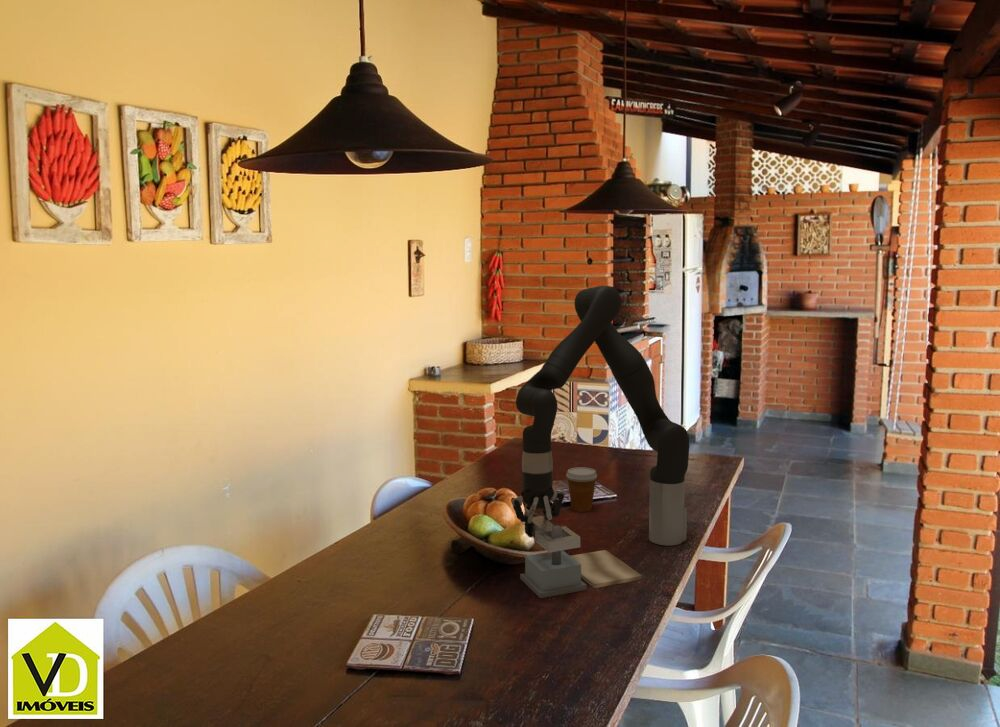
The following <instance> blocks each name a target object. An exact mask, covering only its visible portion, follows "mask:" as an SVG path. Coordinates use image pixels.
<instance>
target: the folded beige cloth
mask: <svg viewBox="0 0 1000 727" xmlns="http://www.w3.org/2000/svg"><path fill="white" fill-rule="evenodd" d="M570 556H571V557H572V558H573V559H575V560H576V561H577V562H578V563H580V564H581V580H584V581H585V582H586V584H588V585H590V586H591V588H593V589H598V588H604V587H609V586H615V585H619V584H620V585H621V584H624V583H631V582H636V581H640V580H643V579H642V578H643V575H642V574H640V573H639V572H637V571H636V570H634V569H633V568H632V567H630V566H629V565H627V564H626V563H625V562H623V561H622V560H621V559H619V558H618V557H617V556H615V555H613V554H612V553H611V552H609V551H608V550H607V549H604V550H603V549H602V550H596V551H591V552H585V553H579V554H573V555H570Z"/></svg>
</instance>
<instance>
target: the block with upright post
mask: <svg viewBox="0 0 1000 727" xmlns="http://www.w3.org/2000/svg"><path fill="white" fill-rule="evenodd" d="M561 527H562V525H557V524H554V526H552V539H556V538H561ZM571 556H572V555H570V554H568V553H567V552H565V550H562V551H556V552H550V553H549V552H548V551H547V552H542V553H536V554H530V555H529V554H528V555H525V557H524V559H525V560H524V563H525V565H524V566H525V568H524V569H525V570H524V573H520V574H519V579H520V581H522V583H524V584H525V585H526V586H527V587H528V588H529V589H530V590H531V591H532V592H533V593H534V594H535V595H536V596H537V597H538V598H539V599H545V598H550V597H556V596H561V595H566V594H571V593H577V592H582V591H587V590H588V587H587V583H585V582H584V581H582V578H581V564H580V563H578V562H577V561H576V560H575V559H573V558H572V557H571Z"/></svg>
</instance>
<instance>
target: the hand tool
mask: <svg viewBox="0 0 1000 727" xmlns="http://www.w3.org/2000/svg"><path fill="white" fill-rule="evenodd" d="M450 546H451V548H450V549H451V551H452V553H454V554H458V555H462V554H463V553H465V552H466V550H469V549H470V548H472V547H471V546H470V545H469V544H468V543H467V542H466V541H465V540H464V539H463V538H462V537H460V538H458V539H452V540H451V544H450Z"/></svg>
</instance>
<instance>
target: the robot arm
mask: <svg viewBox="0 0 1000 727" xmlns="http://www.w3.org/2000/svg"><path fill="white" fill-rule="evenodd" d="M574 309H575V313H576V315H577V317H578V319H579V322H580V323H578V325H577V326H576V327H575V328H574V329H573V330H572V331H571V332H570V333H569V334H568V335H567V336H565V338H563V340H561V341H560V342H559V343H558V344H557V345H556V346H555V348H553V350H552V351H551V352H550V354H549V356H548V357H547V359H546V360H545V362H544V363H543V365H542V366H541V368H540V369H539V371H537V372H536V373H535V374H533V376H532V377H530V378H529V379H528V381H526V382H525V384H524V383H523V385H522V386H521V388H520V389H519V390H518V392H517V395H516V399H515V407H516V409H517V411H518V413H521V414H522V415H525V416H530V417H533V423H532V425H527V426H525V427H524V428H523V431H522V456H521V481H522V483H521V486H522V491H521V494H520V495H519V496H517V497H511V499H510V502H511V505H512V507H513V510H514V513H515V516H516V518H517V520H519V521H520V522H522V523H524V533H525V535H526V536H528V538H533V536H534V534H533V533H534V532H533V525H532V519H533V517H534V515H536V513H535V512H536V510H538V509H541V511H542V514H543V515H542V516H543V517H544V518H546V519H547V520H548V521H550V522H551V523H552V520H553V518H555V517H558V516H559V515H560V512H561V509H562V505H563V502H564V498H565V494H564V493H562V492H560V491H559V490H557V491H556V490H554V488H553V484H554V482H553V480H554V479H553V478H554V477H553V475H554V474H553V473H554V472H553V469H554V468H553V467H554V464H553V456H552V455H553V454H552V433H553V432H552V431H553V429H554V425H555V420H556V416H557V412H558V400H557V397H556V395H555V393H553V390H558V389H561V388H563V387H564V386H565V385H566V383H567V381H568V380H569V379H570V377H571V375H572V374H573V372H574V371H575V369H576V367H577V366H578V365H579V363H580V361H581V359H583V357H584V355H585V354H586V353H587V351H588V350H589V349H590V348H591V347H592V345H593V344H594V343H595V344H596V346H597V348H598V350H599V352H600V353H601V356H602V357H603V359H604V360H605V362H606V364H607V366H608V368H609V369H610V372H611V374H612V375H613V378H614V379H615V382H616V383H617V385H618V387H619V388H620V390H621V391H622V394H623V395H624V397H625V399H626V400H627V403H628V404H629V406H630V408H631V409H632V411H633V413H634V414H635V416H636V419H637V421H638V423H639V426H640V428H641V431H642V434H643V436H644V438H645V441H646V443H647V445H648V446H649V447H650V448H651V449H652V450H653V451H654V452H656V453H657V457H656V465H655V466H652V467H651V469H650V472H649V514H648V515H649V519H648V520H649V523H648V526H649V527H648V529H649V530H648V540H649V541H650V542H651V543H653V544H655V545H660V546H666V547H667V546H668V547H669V546H678V545H681V544H682V543H684V542H686V541H687V532H688V530H687V529H688V528H687V525H688V524H687V523H688V508H687V507H686V506H685V478H686V473H687V471H688V468H689V460H690V459H689V456H690V437H689V433H688V431H687V429H686V427H684V426H683V425H681V424H678V423H676V422H673V421H671V420H670V418H669V417H668V416H667V415H666V412H664V409H663V408H662V406H661V405H660V403H659V401H658V397H657V393H656V391H657V390H656V383H655V379H654V376H653V373H652V370H651V369H650V367H649V364H648V363H647V362H646V359H645V357H644V356H643V355H642V353H641V352H640V351H639V350H638V349H637V347H635V346H634V345H633V344H632V343H631V342H630V341H629V340H627V339H626V338H625V337H624V336H623V335H622V334H620V332H619V331H618V330H617V329H616V327H615V325H614V324H613V322H614V320H615V319H616V318H617V317H618V315H619V313H620V311H621V309H622V297H621V295H620V293H619V291H618V290H617V289H616V288H614V287H613V286H610V285H598V286H594V287H593V286H592V287H588V288H584V289H582V290H580V291H578V293H577V294H576V296H575V298H574ZM552 499H553V501H552V504H551V505H550V501H551V500H552ZM523 502H524V503H525V507H524V511H523V509H522V505H523Z"/></svg>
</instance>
